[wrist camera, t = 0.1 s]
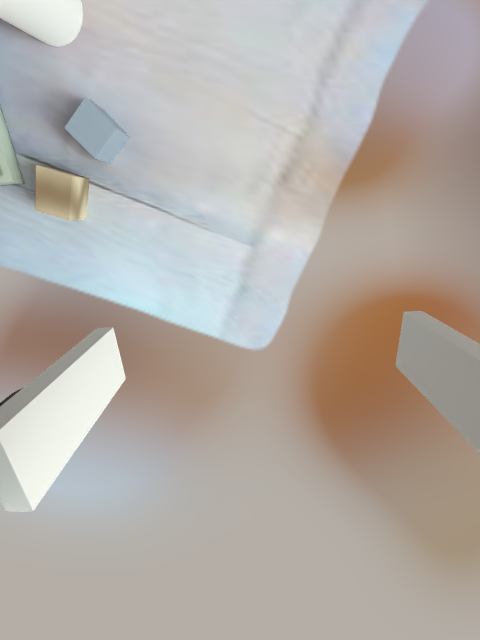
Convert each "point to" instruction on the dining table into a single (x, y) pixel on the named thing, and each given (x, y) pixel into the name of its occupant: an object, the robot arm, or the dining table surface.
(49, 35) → the cup
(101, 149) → the slate blue block
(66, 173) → the oak block
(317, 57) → the dining table surface
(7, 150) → the tray
